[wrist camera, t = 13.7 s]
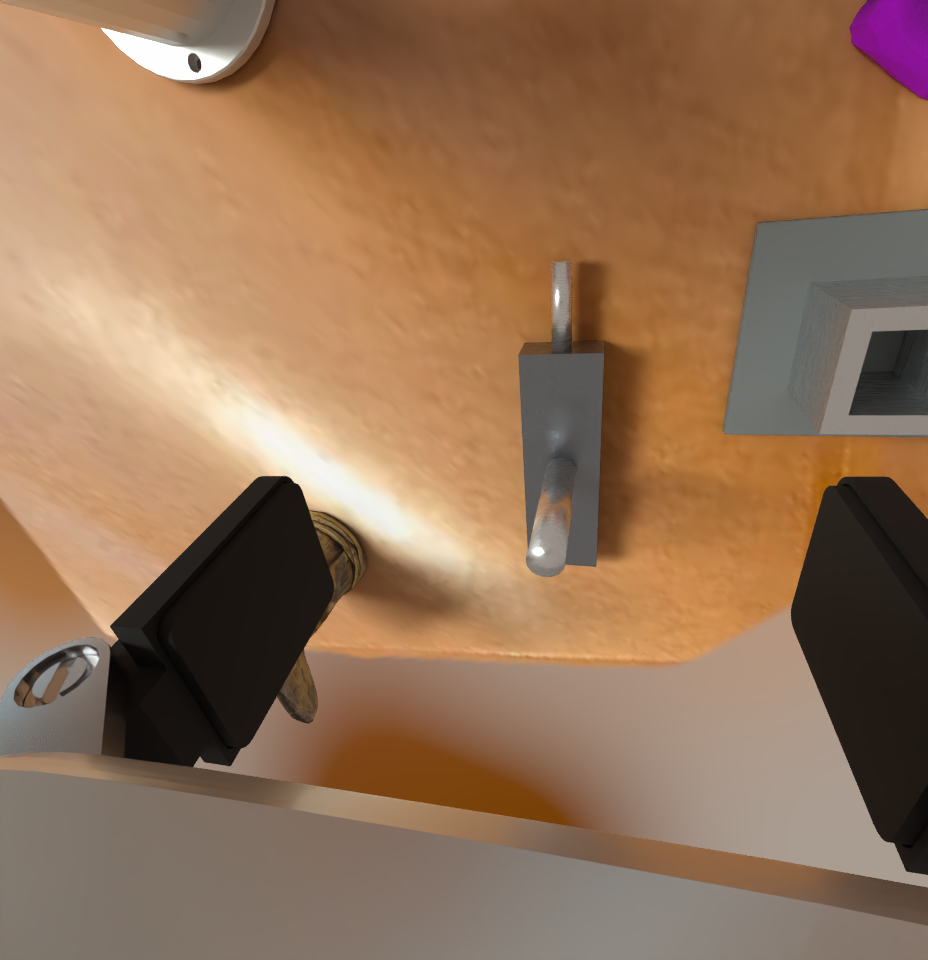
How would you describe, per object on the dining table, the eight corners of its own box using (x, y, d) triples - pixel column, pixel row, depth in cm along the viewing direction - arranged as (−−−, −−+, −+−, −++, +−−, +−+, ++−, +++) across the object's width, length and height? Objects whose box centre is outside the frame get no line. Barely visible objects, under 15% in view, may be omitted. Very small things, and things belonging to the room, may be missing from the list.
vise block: (521, 259, 31) (476, 307, 21) (607, 253, 30) (604, 301, 20) (532, 541, 41) (506, 661, 32) (597, 545, 40) (591, 672, 30)
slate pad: (757, 222, 27) (759, 223, 27) (1044, 199, 24) (1053, 200, 24) (722, 430, 33) (724, 434, 33) (948, 433, 30) (954, 437, 30)
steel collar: (809, 282, 27) (851, 309, 23) (946, 274, 26) (1024, 301, 21) (786, 389, 30) (819, 434, 26) (907, 388, 29) (968, 435, 24)
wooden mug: (425, 570, 46) (334, 765, 31) (309, 592, 52) (185, 768, 37) (378, 487, 43) (251, 663, 28) (259, 521, 48) (99, 683, 33)
